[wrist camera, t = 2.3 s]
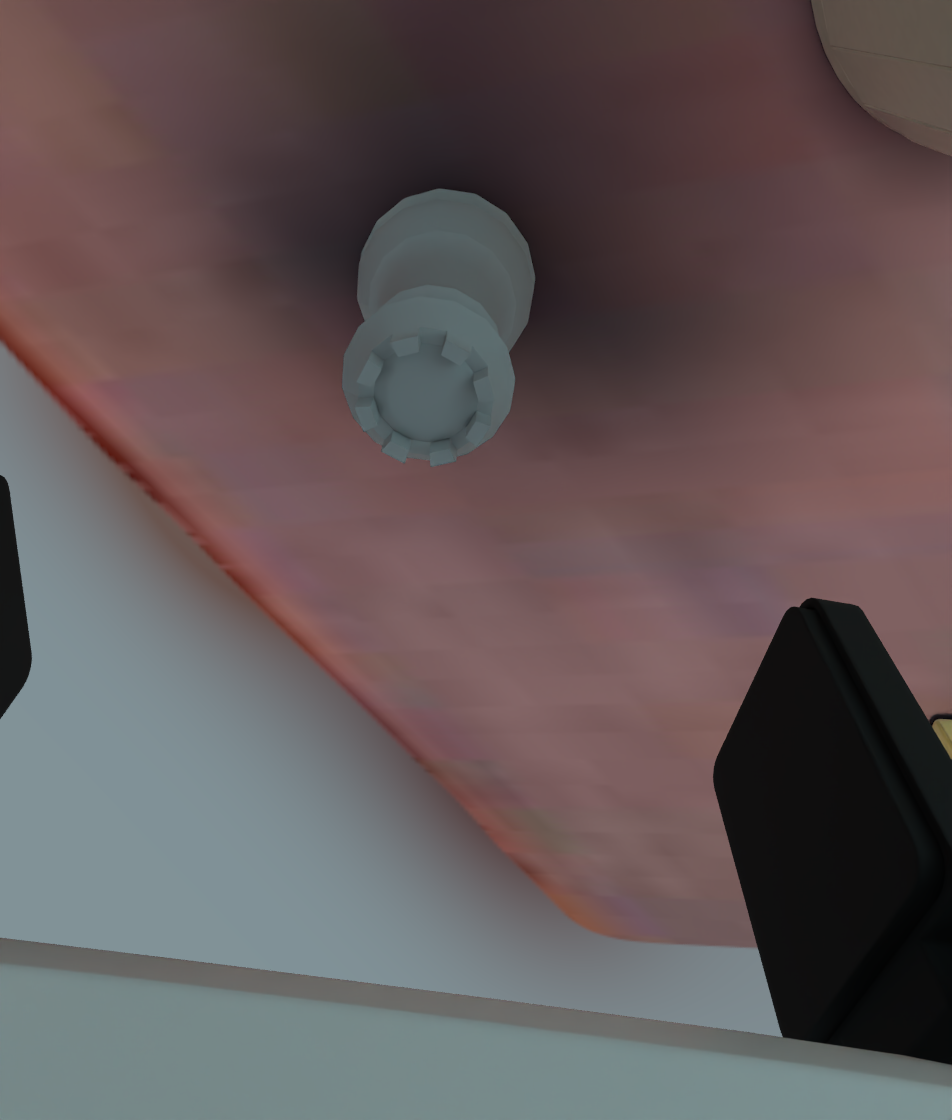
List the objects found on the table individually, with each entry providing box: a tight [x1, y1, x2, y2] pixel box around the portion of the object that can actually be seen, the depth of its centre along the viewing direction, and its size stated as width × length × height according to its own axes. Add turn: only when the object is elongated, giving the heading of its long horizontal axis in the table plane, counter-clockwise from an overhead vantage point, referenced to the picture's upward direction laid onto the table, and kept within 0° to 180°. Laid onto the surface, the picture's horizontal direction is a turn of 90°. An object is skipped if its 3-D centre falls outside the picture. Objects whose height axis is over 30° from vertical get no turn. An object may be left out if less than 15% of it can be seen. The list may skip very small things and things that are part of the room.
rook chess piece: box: [342, 188, 535, 467], centre depth 19 cm, size 4×4×8 cm
